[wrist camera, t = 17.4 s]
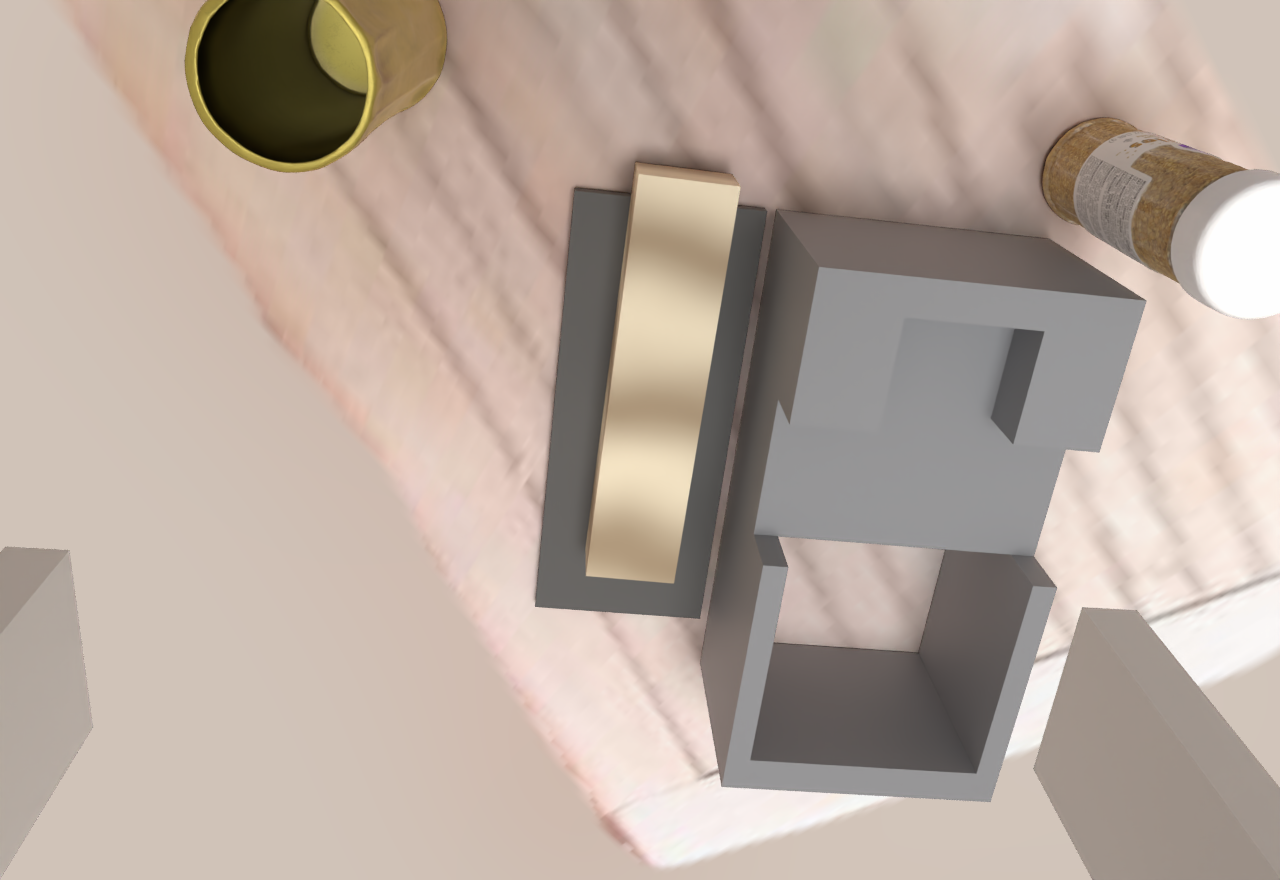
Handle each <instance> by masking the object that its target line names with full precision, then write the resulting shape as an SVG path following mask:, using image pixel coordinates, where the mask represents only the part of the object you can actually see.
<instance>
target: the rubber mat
mask: <svg viewBox="0 0 1280 880" xmlns="http://www.w3.org/2000/svg"><path fill="white" fill-rule="evenodd" d="M630 200H631V194H629V193H620V192H611V191H601V190H592V189H583V188H575V190H574V201H573V211H572V222H571V232H570V243H569V253H568V264H567V274H566V285H565V295H564V306H563V317H562V327H561V338H560V348H559V359H558V369H557V380H556V390H555V401H554V411H553V422H552V432H551V443H550V454H549V464H548V475H547V485H546V496H545V506H544V517H543V527H542V538H541V548H540V559H539V569H538V580H537V591H536V602H535V607H544V608H558V609H572V610H586V611H600V612H614V613H628V614H642V615H656V616H670V617H684V618H698V619H700V615H701V609H702V603H703V596H704V590H705V584H706V578H707V572H708V566H709V560H710V554H711V548H712V542H713V536H714V530H715V524H716V518H717V512H718V506H719V499H720V493H721V487H722V481H723V475H724V469H725V463H726V457H727V451H728V445H729V439H730V433H731V427H732V421H733V415H734V409H735V402H736V396H737V390H738V384H739V378H740V372H741V366H742V360H743V354H744V348H745V342H746V336H747V330H748V324H749V318H750V311H751V305H752V299H753V293H754V287H755V281H756V275H757V269H758V263H759V257H760V251H761V245H762V239H763V233H764V227H765V221H766V214H767V211H766V209H765V208H759V207H749V206H740V205H738V206H737V212H736V218H735V223H734V229H733V235H732V241H731V247H730V253H729V259H728V265H727V271H726V277H725V283H724V289H723V295H722V301H721V307H720V313H719V319H718V325H717V330H716V336H715V342H714V348H713V354H712V360H711V366H710V372H709V378H708V384H707V390H706V396H705V402H704V408H703V414H702V420H701V426H700V431H699V437H698V443H697V449H696V455H695V461H694V467H693V473H692V479H691V485H690V491H689V497H688V503H687V509H686V515H685V521H684V527H683V532H682V538H681V544H680V550H679V556H678V562H677V568H676V574H675V580H674V584H673V583H662V582H650V581H639V580H627V579H615V578H604V577H592V576H586V554H585V547H586V540H587V532H588V524H589V517H590V509H591V501H592V493H593V486H594V478H595V470H596V463H597V455H598V447H599V439H600V432H601V424H602V416H603V409H604V401H605V393H606V385H607V378H608V370H609V362H610V355H611V347H612V339H613V332H614V324H615V316H616V308H617V301H618V293H619V285H620V278H621V270H622V262H623V254H624V247H625V239H626V231H627V224H628V216H629V208H630Z"/></svg>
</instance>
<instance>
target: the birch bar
mask: <svg viewBox="0 0 1280 880" xmlns="http://www.w3.org/2000/svg"><path fill="white" fill-rule="evenodd" d="M740 188H741V186H740V185H739V183H738V182H737V180H736V179H735V177H734V176H733V174H726V173H718V172H710V171H702V170H694V169H686V168H678V167H670V166H662V165H654V164H646V163H638V162H635V170H634V177H633V185H632V193H631V200H630V208H629V216H628V224H627V231H626V239H625V247H624V254H623V262H622V270H621V278H620V285H619V293H618V301H617V308H616V316H615V324H614V332H613V339H612V347H611V355H610V362H609V370H608V378H607V385H606V393H605V401H604V409H603V416H602V424H601V432H600V439H599V447H598V455H597V463H596V470H595V478H594V486H593V493H592V501H591V509H590V517H589V524H588V532H587V540H586V547H585V554H586V576H592V577H604V578H615V579H627V580H639V581H650V582H662V583H673V584H674V580H675V574H676V568H677V562H678V556H679V550H680V544H681V538H682V532H683V527H684V521H685V515H686V509H687V503H688V497H689V491H690V485H691V479H692V473H693V467H694V461H695V455H696V449H697V443H698V437H699V431H700V426H701V420H702V414H703V408H704V402H705V396H706V390H707V384H708V378H709V372H710V366H711V360H712V354H713V348H714V342H715V336H716V330H717V325H718V319H719V313H720V307H721V301H722V295H723V289H724V283H725V277H726V271H727V265H728V259H729V253H730V247H731V241H732V235H733V229H734V223H735V218H736V212H737V206H738V200H739V194H740Z"/></svg>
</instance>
